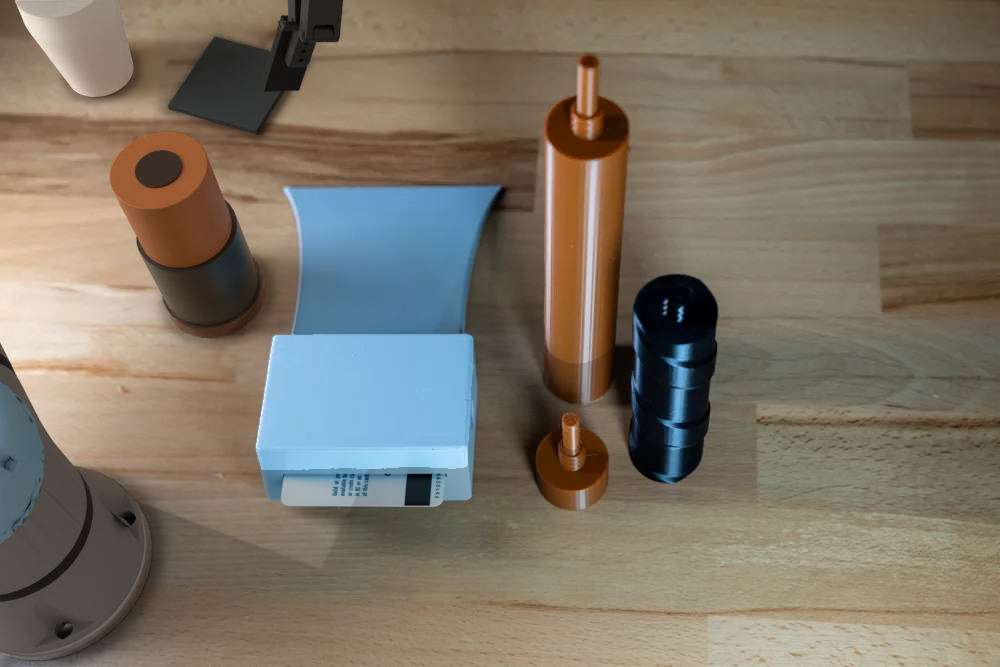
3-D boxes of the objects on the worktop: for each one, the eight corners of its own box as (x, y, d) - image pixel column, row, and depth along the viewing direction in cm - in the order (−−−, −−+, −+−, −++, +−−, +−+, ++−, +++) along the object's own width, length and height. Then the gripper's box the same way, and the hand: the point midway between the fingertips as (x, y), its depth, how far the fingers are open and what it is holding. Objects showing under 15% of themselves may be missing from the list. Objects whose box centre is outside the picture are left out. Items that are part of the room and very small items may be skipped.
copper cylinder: (205, 279, 95) (177, 219, 88) (123, 253, 97) (89, 192, 90) (248, 207, 98) (224, 144, 92) (168, 183, 100) (139, 119, 93)
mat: (257, 134, 116) (256, 130, 115) (168, 109, 118) (167, 105, 117) (302, 63, 120) (301, 59, 120) (215, 40, 122) (214, 36, 122)
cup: (99, 120, 117) (55, 33, 107) (39, 81, 120) (-10, -8, 110) (164, 65, 121) (127, -25, 110) (103, 28, 124) (62, -63, 114)
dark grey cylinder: (237, 350, 103) (208, 288, 94) (148, 321, 105) (112, 257, 96) (283, 269, 107) (259, 203, 99) (196, 242, 109) (165, 175, 101)
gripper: (452, -103, 69) (353, 143, 85) (315, -349, 79) (250, -89, 95) (334, -111, 65) (254, 149, 81) (206, -368, 75) (157, -93, 91)
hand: (251, 21), depth 88 cm, fingers open, 13 cm apart
